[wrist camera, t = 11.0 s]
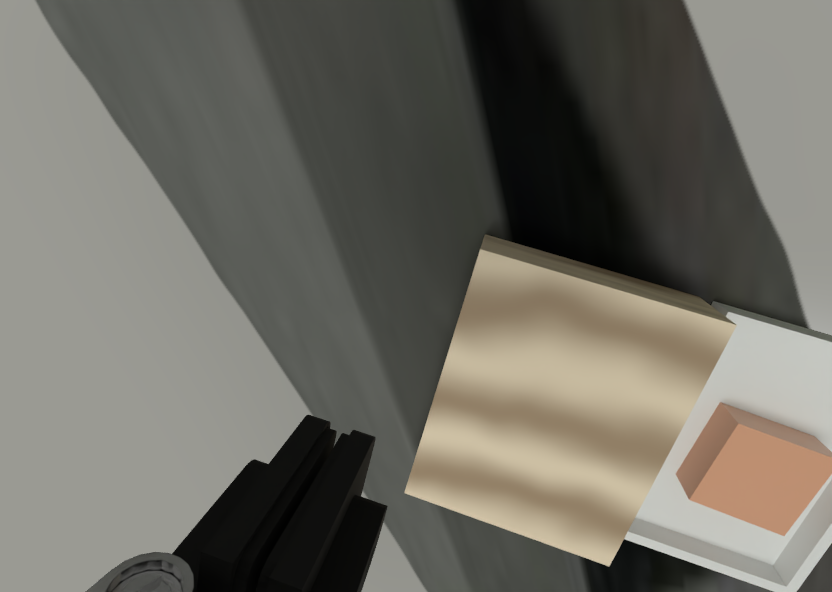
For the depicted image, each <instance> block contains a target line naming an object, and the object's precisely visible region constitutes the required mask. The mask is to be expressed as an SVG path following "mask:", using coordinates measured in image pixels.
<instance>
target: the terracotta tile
mask: <svg viewBox="0 0 832 592" xmlns="http://www.w3.org/2000/svg"><path fill="white" fill-rule="evenodd" d="M831 474H832V452H831V451H830V450H829V449H828V448H827V447H826V446H825V445H824V444H822V443H821V442H820V441H819V440H818V439H817V438H816V437H815V436H813V435H810V434H807V433H804V432H802V431H799V430H796V429H793V428H791V427H788V426H785V425H782V424H780V423H777V422H774V421H771V420H769V419H766V418H763V417H760V416H758V415H755V414H752V413H749V412H746V411H744V410H741V409H738V408H735V407H733V406H730V405H727V404H724V403H722V402H720V403H719V405H718V406H717V408H716V409H715V411H714V413H713V414H712V416H711V417H710V419H709V421H708V422H707V424H706V426H705V427H704V429H703V430H702V432H701V434H700V435H699V437H698V438H697V440H696V442H695V443H694V445H693V447H692V448H691V450H690V451H689V453H688V455H687V456H686V458H685V459H684V461H683V463H682V464H681V466H680V468H679V469H678V471H677V472H676V476H677V478H678V480H679V482H680V483H681V485H682V487H683V489H684V491H685V493H686V495H687V497H688V499H689V500H691V501H693V502H696V503H698V504H701V505H704V506H706V507H709V508H711V509H714V510H717V511H719V512H722V513H725V514H727V515H730V516H732V517H735V518H738V519H740V520H743V521H745V522H748V523H751V524H753V525H756V526H759V527H761V528H764V529H766V530H769V531H772V532H774V533H777V534H779V535H782V536H785V535H786V533H787V532H788V531H789V529H790V528H791V527H792V525H793V524H794V523H795V522H796V520H797V519H798V518H799V516H800V515H801V514H802V512H803V511H804V510H805V508H806V507H807V506H808V504H809V503H810V502H811V501H812V499H813V498H814V497H815V495H816V494H817V493H818V491H819V490H820V489H821V487H822V486H823V485H824V483H825V482H826V481H827V480H828V478H829V477H830V476H831Z"/></svg>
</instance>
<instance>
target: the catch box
mask: <svg viewBox="0 0 832 592" xmlns="http://www.w3.org/2000/svg"><path fill="white" fill-rule="evenodd" d="M711 306H712V307H713V308H715V309H716V310H717V311H719V312H720V313H721V314H723V315H724V316H725V317H727V318H728V319H729V320H731V321H732V322H733V323H735V324H736V325H737V326H736V328H735V330H734V332H733V333H732V335H731V337H730V339H729V341H728V343H727V345H726V347H725V349H724V351H723V352H722V354H721V356H720V358H719V360H718V362H717V364H716V366H715V368H714V369H713V371H712V373H711V375H710V377H709V379H708V381H707V383H706V385H705V386H704V388H703V390H702V392H701V394H700V396H699V398H698V400H697V402H696V403H695V405H694V407H693V409H692V411H691V413H690V415H689V417H688V419H687V420H686V422H685V424H684V426H683V428H682V430H681V432H680V434H679V436H678V437H677V439H676V441H675V443H674V445H673V447H672V449H671V451H670V453H669V455H668V456H667V458H666V460H665V462H664V464H663V466H662V468H661V470H660V472H659V473H658V475H657V477H656V479H655V481H654V483H653V485H652V487H651V489H650V490H649V492H648V494H647V496H646V498H645V500H644V502H643V504H642V506H641V507H640V509H639V511H638V513H637V515H636V517H635V519H634V521H633V523H632V524H631V526H630V528H629V530H628V532H627V534H626V536H625V538H624V539H626V540H629V541H632V542H634V543H637V544H640V545H643V546H646V547H649V548H651V549H654V550H657V551H660V552H663V553H666V554H669V555H671V556H674V557H677V558H680V559H683V560H686V561H689V562H691V563H694V564H697V565H700V566H703V567H706V568H708V569H711V570H714V571H717V572H720V573H723V574H726V575H728V576H731V577H734V578H737V579H740V580H743V581H746V582H748V583H751V584H754V585H757V586H760V587H763V588H765V589H768V590H771V591H774V592H796V591H797V590H798V589H799V587H800V586H801V585H802V583H803V582H804V580H805V579H806V578H807V576H808V575H809V574H810V572H811V571H812V569H813V568H814V567H815V565H816V564H817V562H818V561H819V560H820V558H821V557H822V556H823V554H824V553H825V551H826V550H827V549H828V547H829V546H830V545H831V543H832V474H831V476H830V477H829V478H828V480H827V481H826V482H825V483H824V485H823V486H822V487H821V489H820V490H819V491H818V493H817V494H816V495H815V497H814V498H813V499H812V501H811V502H810V503H809V504H808V506H807V507H806V508H805V510H804V511H803V512H802V514H801V515H800V516H799V518H798V519H797V520H796V522H795V523H794V524H793V525H792V527H791V528H790V529H789V531H788V532H787V533H786V535H785V536H782V535H779V534H777V533H774V532H772V531H769V530H766V529H764V528H761V527H759V526H756V525H753V524H751V523H748V522H745V521H743V520H740V519H738V518H735V517H732V516H730V515H727V514H725V513H722V512H719V511H717V510H714V509H711V508H709V507H706V506H704V505H701V504H698V503H696V502H693V501H691V500H689V499H688V497H687V495H686V493H685V491H684V489H683V487H682V485H681V483H680V482H679V480H678V478H677V476H676V472H677V471H678V469H679V468H680V466H681V464H682V463H683V461H684V459H685V458H686V456H687V455H688V453H689V451H690V450H691V448H692V447H693V445H694V443H695V442H696V440H697V438H698V437H699V435H700V434H701V432H702V430H703V429H704V427H705V426H706V424H707V422H708V421H709V419H710V417H711V416H712V414H713V413H714V411H715V409H716V408H717V406H718V405H719V403H720V402H722V403H724V404H727V405H730V406H733V407H735V408H738V409H741V410H744V411H746V412H749V413H752V414H755V415H758V416H760V417H763V418H766V419H769V420H771V421H774V422H777V423H780V424H782V425H785V426H788V427H791V428H793V429H796V430H799V431H802V432H804V433H807V434H810V435H813V436H815V437H816V438H817V439H818V440H819V441H820V442H821V443H822V444H824V445H825V446H826V447H827V448H828V449H829V450H830V451H831V452H832V336H831V335H828V334H824V333H821V332H818V331H814V330H811V329H807V328H804V327H801V326H797V325H794V324H790V323H787V322H784V321H780V320H777V319H773V318H770V317H766V316H763V315H760V314H756V313H753V312H749V311H746V310H742V309H739V308H736V307H732V306H729V305H725V304H722V303H719V302H715V301H713V302H712V304H711Z"/></svg>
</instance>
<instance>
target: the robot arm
mask: <svg viewBox="0 0 832 592" xmlns="http://www.w3.org/2000/svg"><path fill="white" fill-rule="evenodd" d="M335 438H336V431H335V430H332V429H330V422H329V421H326V420H323V419H320V418H317V417H314V416H311V415H307V416H306V417H305V418H304V419H303V420H302V422H301V423H300V424H299V425H298V427H297V428H296V430H295V431H294V432H293V433H292V435H291V436H290V437H289V439H288V440H287V441H286V442H285V444H284V445H283V446H282V448H281V449H280V450H279V451H278V453H277V454H276V455H275V457H274V458H273V459H272V461H271V462H270V463H269V464H266V463H263V462H260V461H257V460H252V461H251V462H249V463H248V465H246V466H245V468H244V469H243V470H242V471H241V473H240V474H239V475H238V476H237V477H236V478H235V480H234V481H233V482H232V483H231V484H230V486H229V487H228V488H227V489H226V490H225V491H224V493H223V494H222V495H221V496H220V497H219V499H218V500H217V501H216V502H215V503H214V505H213V506H212V507H211V508H210V509H209V511H208V512H207V513H206V514H205V515H204V516H203V518H202V519H201V520H200V521H199V522H198V524H197V525H196V526H195V527H194V528H193V530H192V531H191V532H190V533H189V535H188V536H187V537H186V538H185V539H184V540H183V542H182V543H181V544H180V545H179V546H178V547H177V549H176V550H175V551H174V552H173V553H172V554H170V553H161V552H153V553H147V554H141V555H138V556H136V557H133V558H131V559H128V560H126V561H124V562H122V563H121V564H119V565H118V566H117V567H115V568H114V569H112V570H111V571H110V572H108V573H107V574H106V575H105V576H104V577H103V578H101V579H100V580H99V581H98V582H97V583H95V584H94V585H93V586H92V587H91V588H89V589H88V590H87V591H86V592H361V590H362V588H363V584H364V582H365V579H366V576H367V573H368V570H369V567H370V564H371V561H372V558H373V554H374V551H375V548H376V545H377V542H378V538H379V535H380V531H381V528H382V524H383V521H384V517H385V514H386V510H387V506H386V505H383V504H380V503H377V502H374V501H372V500H369V499H366V498H363V497H361V494H362V490H363V486H364V482H365V478H366V474H367V471H368V467H369V463H370V459H371V455H372V451H373V447H374V443H375V437H374V436H371V435H368V434H365V433H362V432H359V431H356V430H353V431H352V432H351V434H350V435H347V434H344V433H342V434H341V436H340V437H339V439H338V441H337V442H336V444H335V446H334V443H335Z"/></svg>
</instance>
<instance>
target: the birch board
mask: <svg viewBox="0 0 832 592" xmlns="http://www.w3.org/2000/svg"><path fill="white" fill-rule="evenodd" d="M736 326H737V325H736V324H735V323H733V322H732V321H731V320H729V319H728V318H727V317H725V316H724V315H723V314H721V313H720V312H719V311H717V310H716V309H715V308H713V307H712V306H711V305H709V304H708V303H707V302H705V301H704V300H703V299H701V298H700V297H698V296H695V295H691V294H688V293H684V292H681V291H677V290H674V289H671V288H667V287H664V286H660V285H657V284H654V283H650V282H647V281H643V280H640V279H636V278H633V277H630V276H626V275H623V274H619V273H616V272H612V271H609V270H606V269H602V268H599V267H595V266H592V265H589V264H585V263H582V262H578V261H575V260H571V259H568V258H565V257H561V256H558V255H554V254H551V253H547V252H544V251H541V250H537V249H534V248H530V247H527V246H523V245H520V244H517V243H513V242H510V241H506V240H503V239H500V238H496V237H493V236H489V235H486V234H485V236H484V239H483V242H482V245H481V248H480V251H479V255H478V258H477V261H476V264H475V267H474V271H473V274H472V277H471V280H470V284H469V287H468V290H467V293H466V296H465V300H464V303H463V306H462V309H461V313H460V316H459V319H458V322H457V325H456V329H455V332H454V335H453V338H452V342H451V345H450V348H449V351H448V354H447V358H446V361H445V364H444V367H443V370H442V374H441V377H440V380H439V383H438V387H437V390H436V393H435V396H434V399H433V403H432V406H431V409H430V412H429V416H428V419H427V422H426V425H425V428H424V432H423V435H422V438H421V441H420V445H419V448H418V451H417V454H416V457H415V461H414V464H413V467H412V470H411V474H410V477H409V480H408V483H407V486H406V490H405V493H406V494H409V495H411V496H414V497H417V498H420V499H423V500H425V501H428V502H431V503H434V504H436V505H439V506H442V507H445V508H448V509H450V510H453V511H456V512H459V513H462V514H464V515H467V516H470V517H473V518H476V519H478V520H481V521H484V522H487V523H490V524H492V525H495V526H498V527H501V528H503V529H506V530H509V531H512V532H515V533H517V534H520V535H523V536H526V537H529V538H531V539H534V540H537V541H540V542H543V543H545V544H548V545H551V546H554V547H557V548H559V549H562V550H565V551H568V552H570V553H573V554H576V555H579V556H582V557H584V558H587V559H590V560H593V561H596V562H598V563H601V564H604V565H607V566H610V564H611V562H612V560H613V559H614V557H615V555H616V553H617V551H618V549H619V547H620V545H621V543H622V541H623V540H624V538H625V536H626V534H627V532H628V530H629V528H630V526H631V524H632V523H633V521H634V519H635V517H636V515H637V513H638V511H639V509H640V507H641V506H642V504H643V502H644V500H645V498H646V496H647V494H648V492H649V490H650V489H651V487H652V485H653V483H654V481H655V479H656V477H657V475H658V473H659V472H660V470H661V468H662V466H663V464H664V462H665V460H666V458H667V456H668V455H669V453H670V451H671V449H672V447H673V445H674V443H675V441H676V439H677V437H678V436H679V434H680V432H681V430H682V428H683V426H684V424H685V422H686V420H687V419H688V417H689V415H690V413H691V411H692V409H693V407H694V405H695V403H696V402H697V400H698V398H699V396H700V394H701V392H702V390H703V388H704V386H705V385H706V383H707V381H708V379H709V377H710V375H711V373H712V371H713V369H714V368H715V366H716V364H717V362H718V360H719V358H720V356H721V354H722V352H723V351H724V349H725V347H726V345H727V343H728V341H729V339H730V337H731V335H732V333H733V332H734V330H735V328H736Z"/></svg>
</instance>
